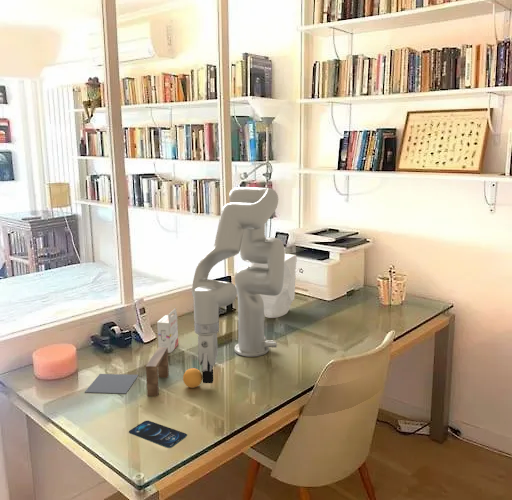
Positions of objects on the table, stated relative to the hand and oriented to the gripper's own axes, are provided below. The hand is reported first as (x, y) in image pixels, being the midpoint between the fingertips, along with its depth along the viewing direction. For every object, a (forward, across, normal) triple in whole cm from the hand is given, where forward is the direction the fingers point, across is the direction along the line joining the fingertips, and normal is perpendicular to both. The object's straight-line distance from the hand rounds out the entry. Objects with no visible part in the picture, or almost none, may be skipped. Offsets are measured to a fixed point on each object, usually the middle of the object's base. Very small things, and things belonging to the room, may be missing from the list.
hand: (208, 382), depth 169 cm
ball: (-1, 0, +5) cm, 5 cm away
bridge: (+2, +1, +16) cm, 16 cm away
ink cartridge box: (+2, +31, +19) cm, 36 cm away
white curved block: (+2, +78, -18) cm, 80 cm away
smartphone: (+3, -27, +10) cm, 29 cm away
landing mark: (+2, +1, +31) cm, 31 cm away
